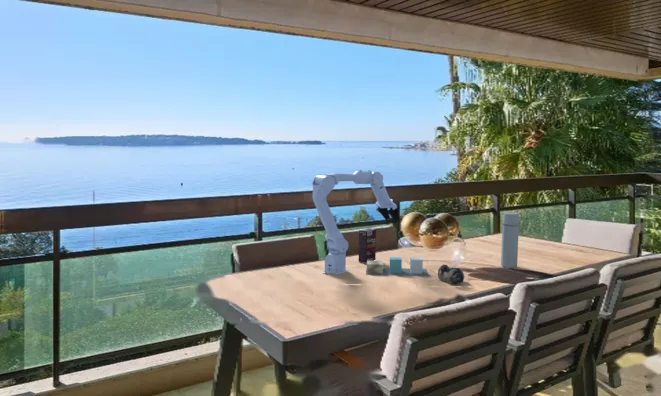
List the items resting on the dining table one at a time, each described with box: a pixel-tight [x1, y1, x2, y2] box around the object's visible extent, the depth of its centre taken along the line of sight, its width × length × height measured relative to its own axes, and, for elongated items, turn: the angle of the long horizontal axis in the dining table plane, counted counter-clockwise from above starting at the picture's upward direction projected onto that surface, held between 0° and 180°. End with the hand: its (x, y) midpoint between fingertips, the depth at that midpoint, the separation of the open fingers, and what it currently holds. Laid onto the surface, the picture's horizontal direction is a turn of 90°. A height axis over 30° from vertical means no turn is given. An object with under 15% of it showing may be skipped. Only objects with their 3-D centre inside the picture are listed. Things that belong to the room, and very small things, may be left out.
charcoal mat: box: [365, 267, 430, 277], centre depth 223 cm, size 27×13×1 cm, turn 85°
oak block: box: [366, 260, 384, 274], centre depth 223 cm, size 7×7×4 cm
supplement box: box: [358, 227, 377, 264], centre depth 243 cm, size 9×5×16 cm, turn 143°
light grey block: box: [409, 256, 424, 274], centre depth 222 cm, size 5×5×6 cm
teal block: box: [389, 256, 403, 273], centre depth 223 cm, size 5×5×6 cm
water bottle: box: [500, 212, 520, 269], centre depth 234 cm, size 9×8×25 cm
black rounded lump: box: [437, 264, 465, 285], centre depth 207 cm, size 12×7×10 cm
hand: (392, 220), depth 236 cm, fingers open, 7 cm apart
